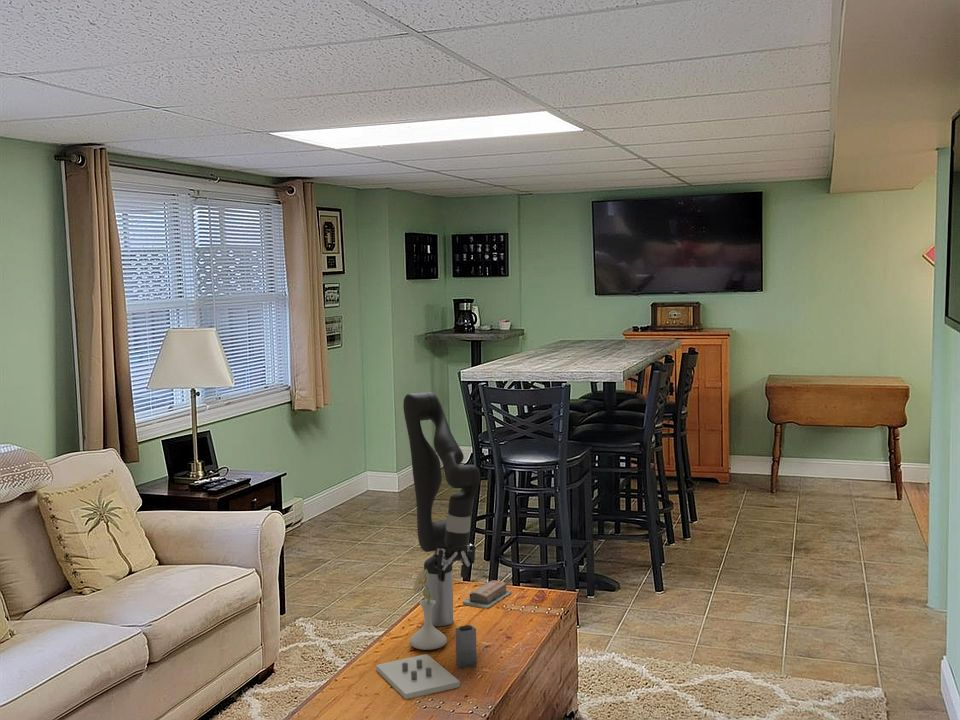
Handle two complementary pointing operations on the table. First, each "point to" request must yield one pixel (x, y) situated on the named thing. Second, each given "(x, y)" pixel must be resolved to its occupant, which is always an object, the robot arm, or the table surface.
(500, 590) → the packaged product
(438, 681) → the tray
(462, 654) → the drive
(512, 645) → the table surface
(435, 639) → the flower in vase
